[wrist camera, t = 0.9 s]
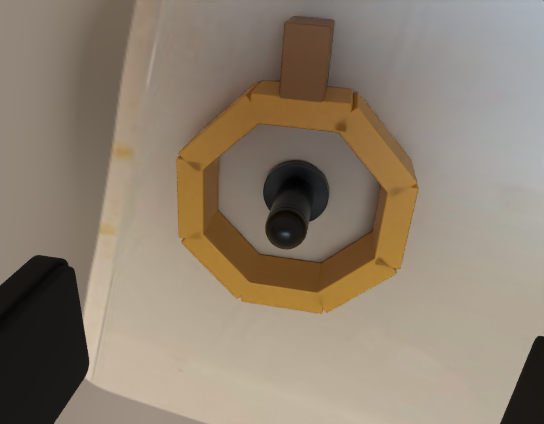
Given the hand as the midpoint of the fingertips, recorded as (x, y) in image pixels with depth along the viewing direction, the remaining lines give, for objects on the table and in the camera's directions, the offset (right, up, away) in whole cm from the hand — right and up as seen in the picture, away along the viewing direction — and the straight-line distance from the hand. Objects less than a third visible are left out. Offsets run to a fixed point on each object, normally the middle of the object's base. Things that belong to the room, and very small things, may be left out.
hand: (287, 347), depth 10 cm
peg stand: (+1, +4, +17) cm, 17 cm away
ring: (+1, +5, +16) cm, 17 cm away
